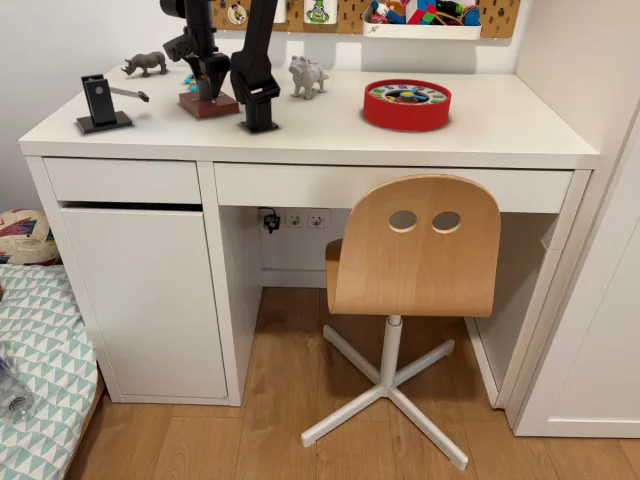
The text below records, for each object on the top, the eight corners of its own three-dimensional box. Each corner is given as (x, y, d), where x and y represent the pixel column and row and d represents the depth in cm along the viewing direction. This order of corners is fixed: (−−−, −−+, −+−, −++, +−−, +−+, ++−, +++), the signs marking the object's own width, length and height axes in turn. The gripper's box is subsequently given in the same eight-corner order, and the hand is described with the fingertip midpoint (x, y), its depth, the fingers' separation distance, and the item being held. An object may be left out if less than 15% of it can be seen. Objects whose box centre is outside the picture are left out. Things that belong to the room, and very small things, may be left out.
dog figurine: (284, 100, 125) (282, 56, 119) (309, 87, 134) (309, 46, 128) (301, 103, 123) (301, 59, 117) (326, 90, 132) (327, 48, 126)
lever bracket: (123, 115, 114) (113, 70, 108) (133, 126, 108) (123, 79, 102) (77, 123, 109) (64, 76, 103) (85, 135, 103) (72, 86, 98)
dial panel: (239, 112, 116) (238, 101, 115) (199, 120, 112) (197, 108, 110) (217, 97, 125) (216, 86, 124) (180, 103, 121) (178, 93, 119)
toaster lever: (141, 99, 113) (143, 89, 112) (148, 105, 109) (150, 95, 108) (85, 87, 105) (87, 76, 104) (90, 93, 102) (92, 82, 101)
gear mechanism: (227, 72, 145) (195, 71, 145) (225, 53, 142) (193, 52, 142) (213, 93, 128) (177, 92, 128) (211, 72, 125) (174, 71, 125)
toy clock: (349, 95, 110) (385, 74, 125) (348, 120, 114) (383, 97, 128) (434, 111, 102) (463, 87, 116) (430, 138, 105) (458, 111, 120)
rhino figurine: (119, 77, 138) (115, 55, 135) (165, 69, 146) (162, 48, 142) (125, 81, 136) (120, 58, 132) (171, 72, 143) (168, 51, 140)
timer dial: (219, 98, 117) (217, 78, 114) (203, 101, 115) (200, 80, 112) (212, 94, 120) (210, 74, 117) (196, 96, 118) (194, 76, 115)
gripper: (150, 18, 111) (161, 87, 119) (178, 33, 98) (188, 110, 106) (197, 14, 116) (205, 80, 124) (230, 28, 103) (235, 101, 111)
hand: (207, 92), depth 117 cm, fingers open, 9 cm apart
